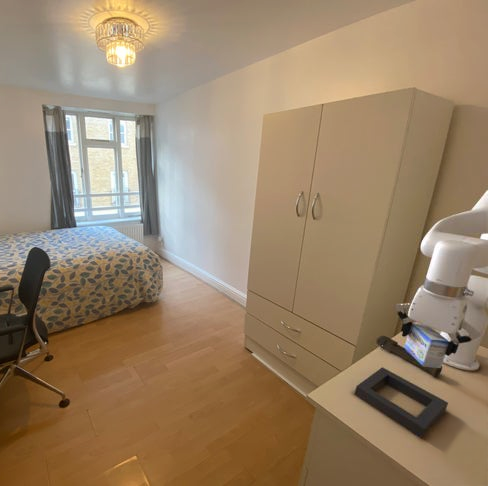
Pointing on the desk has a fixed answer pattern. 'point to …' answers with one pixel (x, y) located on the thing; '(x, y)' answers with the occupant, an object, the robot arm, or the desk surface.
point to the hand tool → (404, 353)
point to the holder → (393, 411)
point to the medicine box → (426, 345)
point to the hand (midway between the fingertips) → (426, 343)
